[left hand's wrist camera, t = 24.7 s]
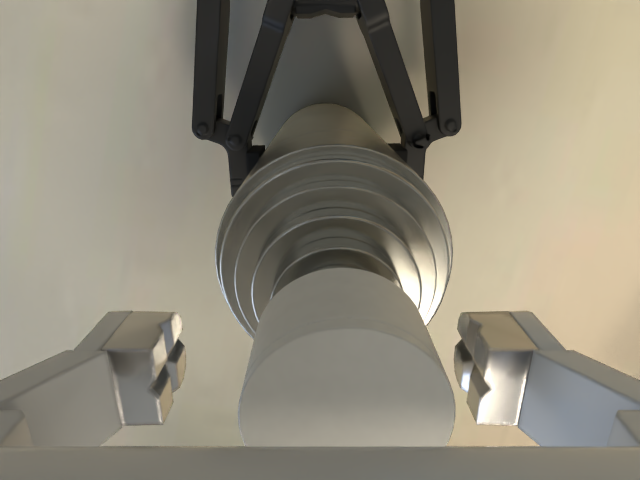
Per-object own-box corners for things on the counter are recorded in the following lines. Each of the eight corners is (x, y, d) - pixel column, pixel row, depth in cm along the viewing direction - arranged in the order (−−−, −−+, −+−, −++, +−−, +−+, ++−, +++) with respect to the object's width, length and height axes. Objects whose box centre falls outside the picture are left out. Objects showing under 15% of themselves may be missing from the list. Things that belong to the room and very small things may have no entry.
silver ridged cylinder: (380, 103, 31) (588, 203, 7) (373, 207, 34) (509, 535, 10) (272, 102, 31) (114, 197, 7) (274, 206, 34) (165, 532, 10)
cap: (432, 398, 11) (463, 487, 8) (275, 421, 11) (264, 512, 9) (416, 252, 9) (447, 310, 7) (237, 281, 10) (212, 346, 7)
